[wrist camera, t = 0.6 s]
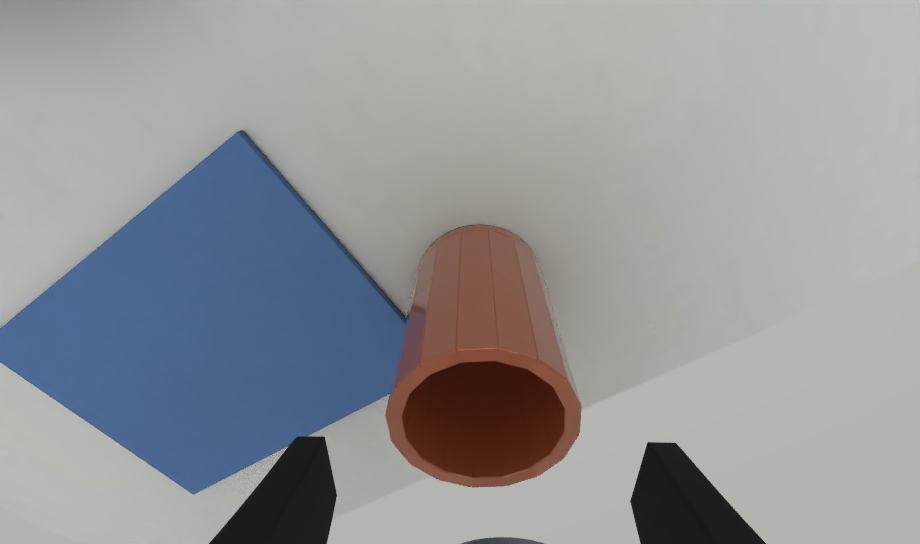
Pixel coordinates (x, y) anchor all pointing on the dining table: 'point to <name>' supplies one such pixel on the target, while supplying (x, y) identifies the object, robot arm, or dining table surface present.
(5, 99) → the dining table surface
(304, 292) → the towel
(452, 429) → the cup
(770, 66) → the dining table surface
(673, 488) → the robot arm
